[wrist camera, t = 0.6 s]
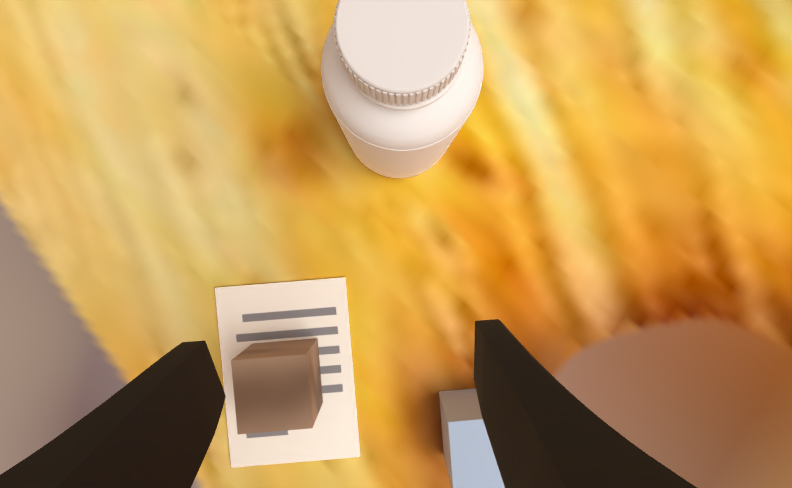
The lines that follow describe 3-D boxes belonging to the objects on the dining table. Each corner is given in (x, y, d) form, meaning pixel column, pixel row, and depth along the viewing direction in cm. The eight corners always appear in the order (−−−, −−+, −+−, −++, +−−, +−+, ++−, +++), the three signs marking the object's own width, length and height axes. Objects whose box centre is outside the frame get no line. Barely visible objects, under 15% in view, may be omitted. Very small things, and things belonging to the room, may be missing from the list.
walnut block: (323, 402, 30) (312, 428, 26) (258, 407, 30) (237, 434, 26) (317, 338, 30) (306, 354, 26) (252, 343, 30) (230, 360, 26)
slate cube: (506, 448, 30) (529, 490, 25) (443, 453, 30) (453, 496, 25) (502, 385, 30) (524, 415, 25) (438, 391, 30) (448, 422, 25)
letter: (360, 455, 30) (360, 456, 30) (232, 466, 30) (231, 467, 30) (345, 277, 30) (345, 277, 30) (215, 287, 30) (214, 287, 30)
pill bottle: (327, 146, 30) (260, 55, 15) (382, 56, 30) (372, -128, 15) (414, 201, 30) (438, 167, 15) (470, 112, 30) (550, -13, 15)
